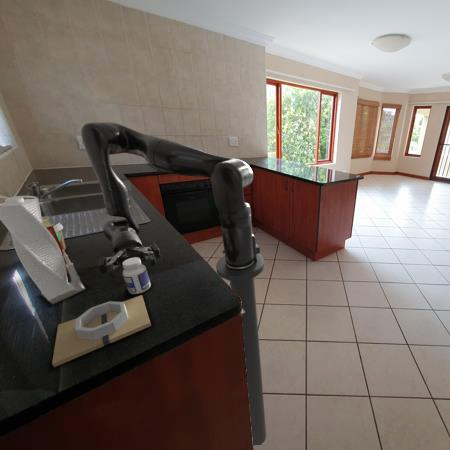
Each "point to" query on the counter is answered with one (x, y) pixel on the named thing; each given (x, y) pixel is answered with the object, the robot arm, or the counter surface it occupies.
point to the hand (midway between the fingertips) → (133, 268)
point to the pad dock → (99, 328)
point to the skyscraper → (39, 249)
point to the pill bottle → (135, 276)
